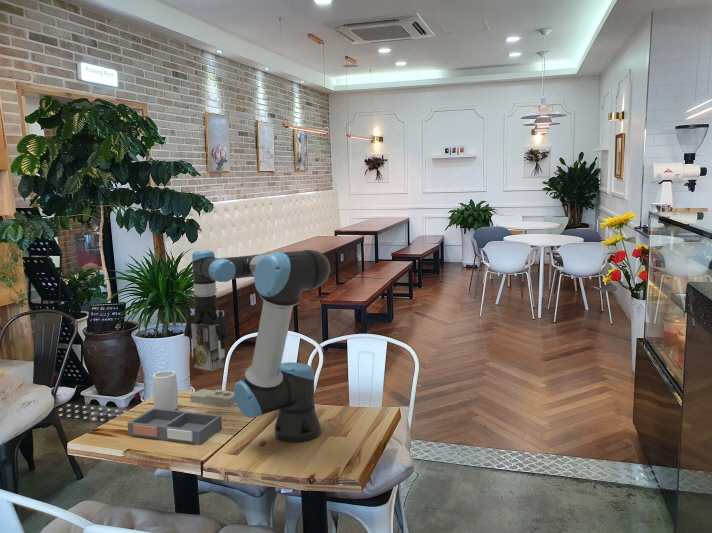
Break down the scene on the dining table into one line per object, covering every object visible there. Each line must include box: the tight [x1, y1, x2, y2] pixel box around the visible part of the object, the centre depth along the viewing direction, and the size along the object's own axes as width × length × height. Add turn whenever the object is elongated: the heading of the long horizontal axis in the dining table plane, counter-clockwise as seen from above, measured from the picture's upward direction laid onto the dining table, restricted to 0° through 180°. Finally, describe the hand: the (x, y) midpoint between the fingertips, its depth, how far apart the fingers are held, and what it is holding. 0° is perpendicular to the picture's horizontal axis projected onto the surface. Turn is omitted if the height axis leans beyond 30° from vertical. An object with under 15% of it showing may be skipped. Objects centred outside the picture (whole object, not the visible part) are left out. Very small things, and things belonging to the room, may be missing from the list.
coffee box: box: [191, 321, 225, 372], centre depth 198 cm, size 9×6×16 cm
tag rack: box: [127, 407, 223, 445], centre depth 188 cm, size 27×14×4 cm, turn 73°
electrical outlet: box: [189, 388, 237, 408], centre depth 215 cm, size 7×4×18 cm
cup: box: [152, 370, 179, 410], centre depth 205 cm, size 8×8×14 cm
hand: (208, 356), depth 199 cm, fingers closed on coffee box, 10 cm apart
